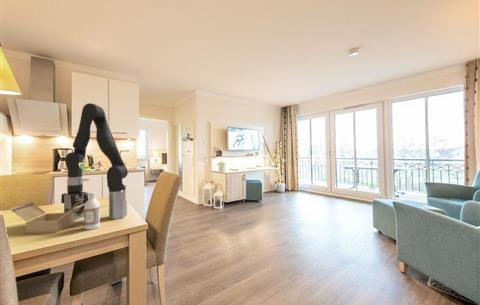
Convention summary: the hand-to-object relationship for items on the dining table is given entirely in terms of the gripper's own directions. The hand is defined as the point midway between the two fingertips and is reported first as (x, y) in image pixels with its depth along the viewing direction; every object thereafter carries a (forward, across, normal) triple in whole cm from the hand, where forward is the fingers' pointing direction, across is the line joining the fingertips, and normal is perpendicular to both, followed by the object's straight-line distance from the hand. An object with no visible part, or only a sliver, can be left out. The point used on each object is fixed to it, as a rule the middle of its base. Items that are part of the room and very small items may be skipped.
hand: (75, 209), depth 126 cm
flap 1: (-1, +10, +15) cm, 18 cm away
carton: (+6, +3, +15) cm, 16 cm away
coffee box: (+6, 0, 0) cm, 6 cm away
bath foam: (+6, -19, +18) cm, 27 cm away
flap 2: (-1, -4, +15) cm, 16 cm away
